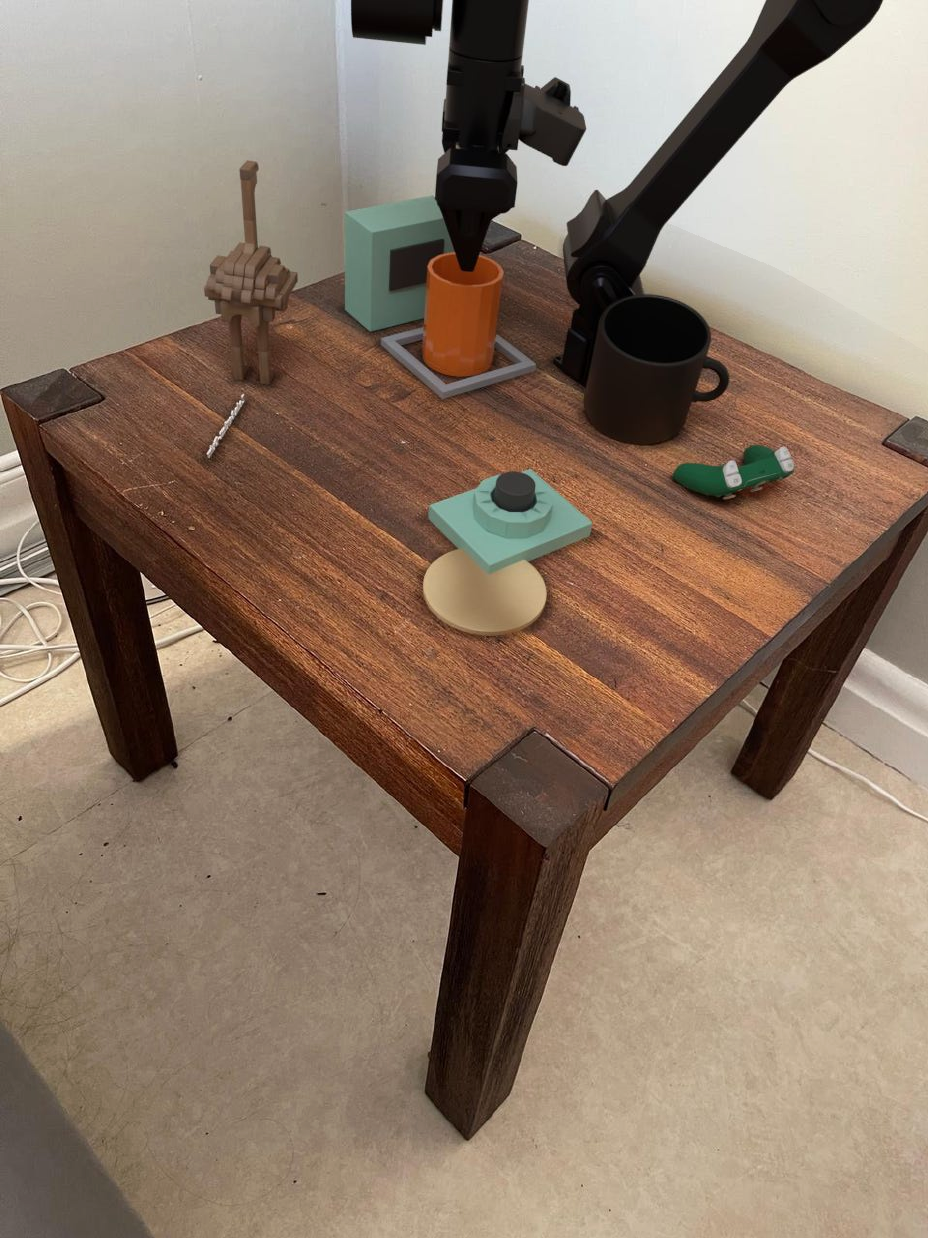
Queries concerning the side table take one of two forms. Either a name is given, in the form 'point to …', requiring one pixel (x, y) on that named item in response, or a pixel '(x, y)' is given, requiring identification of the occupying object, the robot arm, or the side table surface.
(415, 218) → the mint block with tray
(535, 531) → the button base
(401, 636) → the side table surface
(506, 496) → the stop button
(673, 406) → the mug
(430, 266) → the cup
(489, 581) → the coaster
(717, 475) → the gaming controller
